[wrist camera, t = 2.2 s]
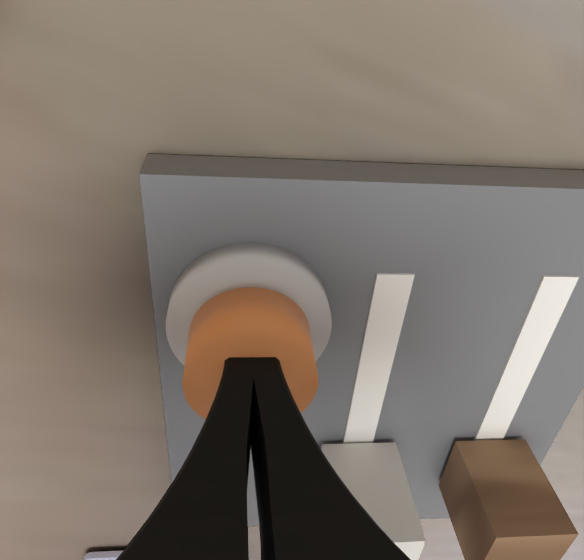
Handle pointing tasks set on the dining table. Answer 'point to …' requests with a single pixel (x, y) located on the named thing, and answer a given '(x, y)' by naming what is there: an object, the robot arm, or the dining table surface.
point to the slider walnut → (503, 503)
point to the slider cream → (380, 489)
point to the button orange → (248, 343)
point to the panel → (383, 295)
